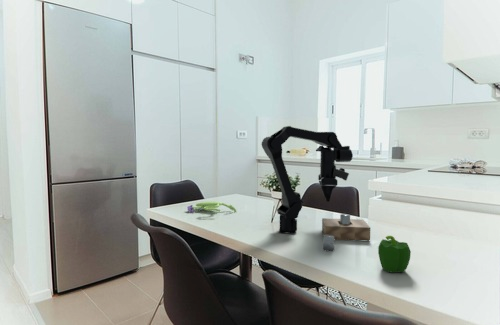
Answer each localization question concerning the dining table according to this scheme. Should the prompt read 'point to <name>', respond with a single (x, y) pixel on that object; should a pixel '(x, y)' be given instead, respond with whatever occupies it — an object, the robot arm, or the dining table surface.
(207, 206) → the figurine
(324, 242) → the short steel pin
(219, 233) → the dining table surface
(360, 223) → the walnut hole block
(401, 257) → the bell pepper
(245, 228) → the dining table surface
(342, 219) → the tall steel pin
